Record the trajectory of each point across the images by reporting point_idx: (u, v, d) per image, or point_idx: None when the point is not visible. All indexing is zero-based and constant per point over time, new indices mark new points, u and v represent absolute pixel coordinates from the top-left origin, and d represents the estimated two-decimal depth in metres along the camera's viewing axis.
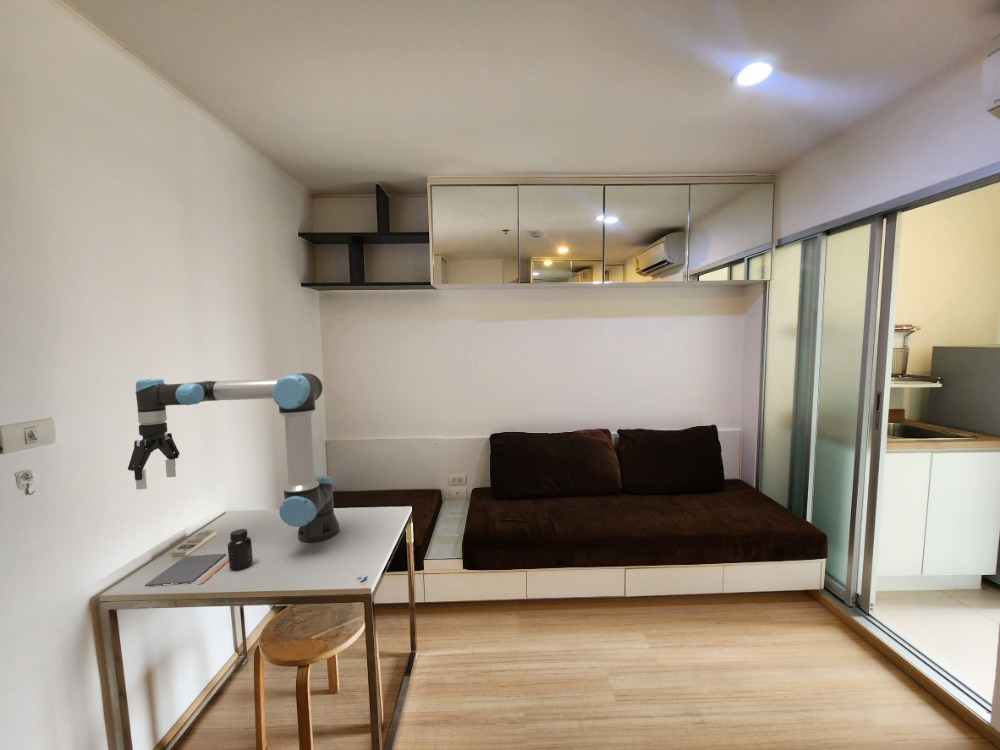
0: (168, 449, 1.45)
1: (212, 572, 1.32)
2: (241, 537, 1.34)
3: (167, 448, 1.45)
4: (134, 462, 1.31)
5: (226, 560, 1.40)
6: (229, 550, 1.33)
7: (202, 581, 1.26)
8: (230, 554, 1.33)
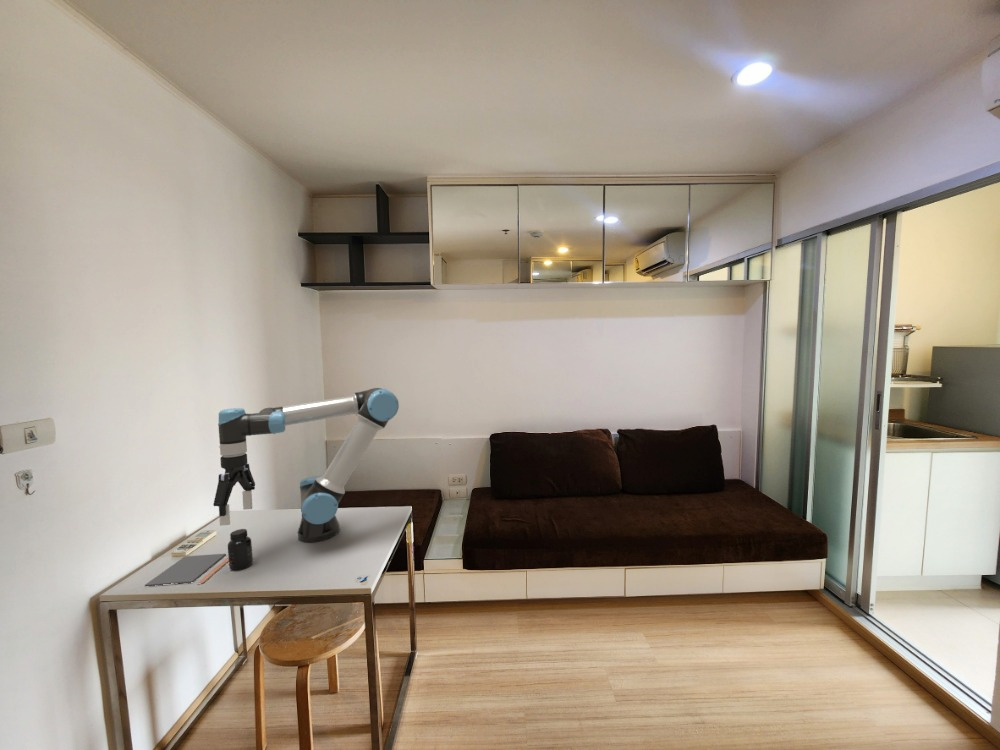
0: (246, 481, 1.40)
1: (212, 572, 1.32)
2: (241, 537, 1.34)
3: (245, 480, 1.39)
4: (219, 497, 1.26)
5: (226, 560, 1.40)
6: (229, 550, 1.33)
7: (202, 581, 1.26)
8: (230, 554, 1.33)
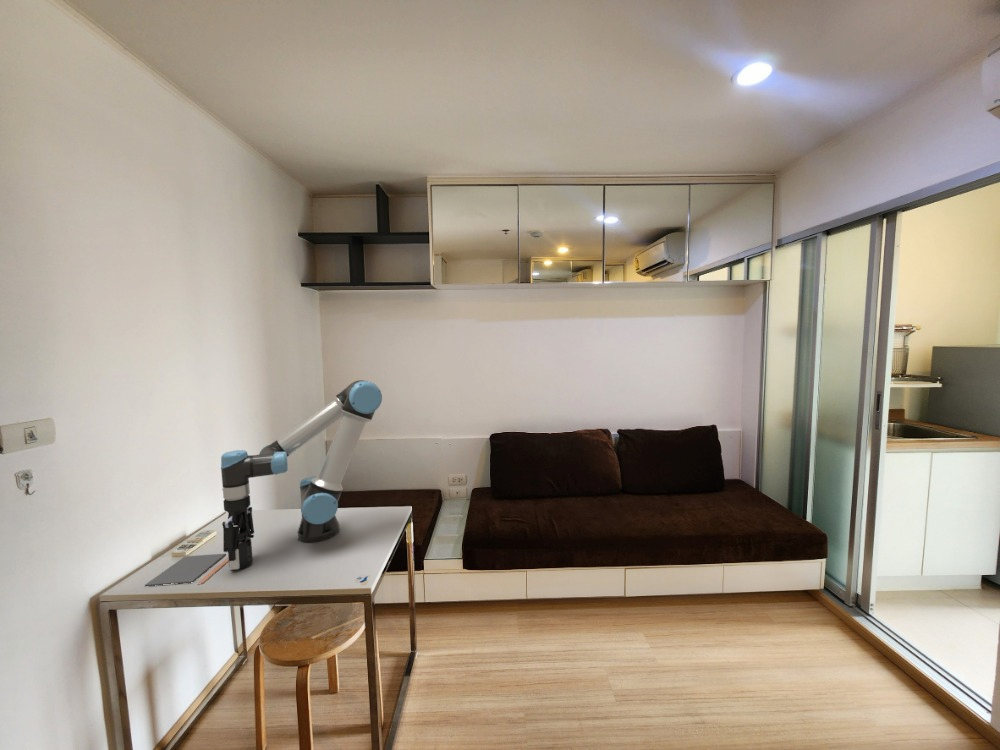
0: (247, 526, 1.39)
1: (212, 572, 1.32)
2: (241, 537, 1.34)
3: (246, 524, 1.38)
4: (228, 544, 1.29)
5: (226, 560, 1.40)
6: None
7: (202, 581, 1.26)
8: None
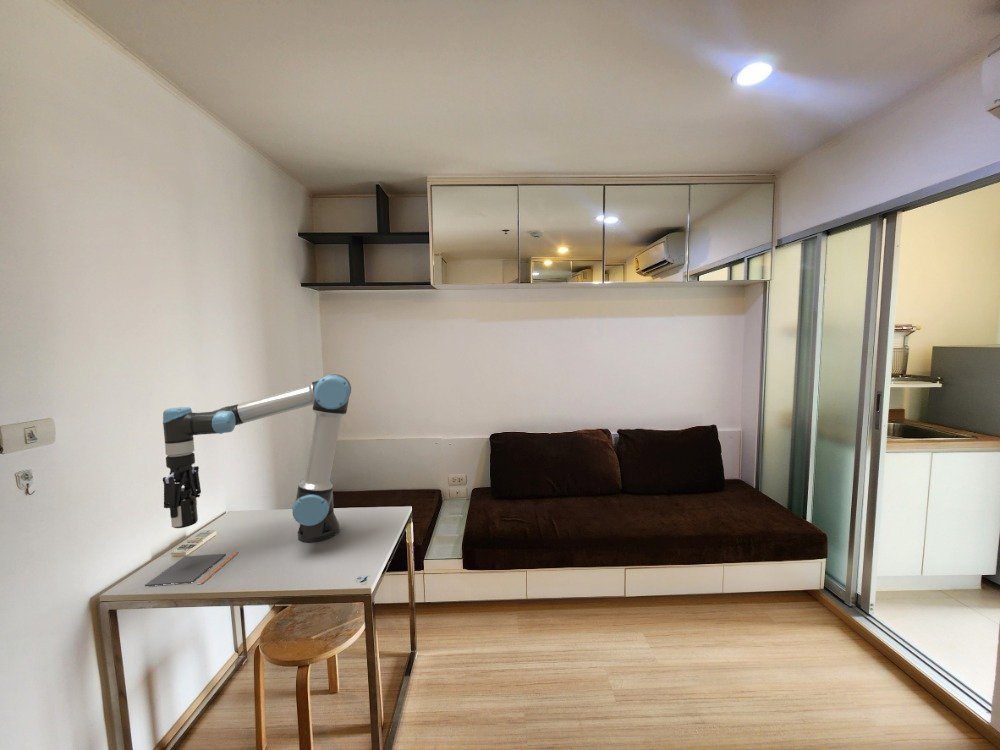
0: (192, 484, 1.37)
1: (212, 572, 1.32)
2: (184, 494, 1.32)
3: (191, 483, 1.36)
4: (168, 500, 1.27)
5: (226, 560, 1.40)
6: None
7: (202, 581, 1.26)
8: None
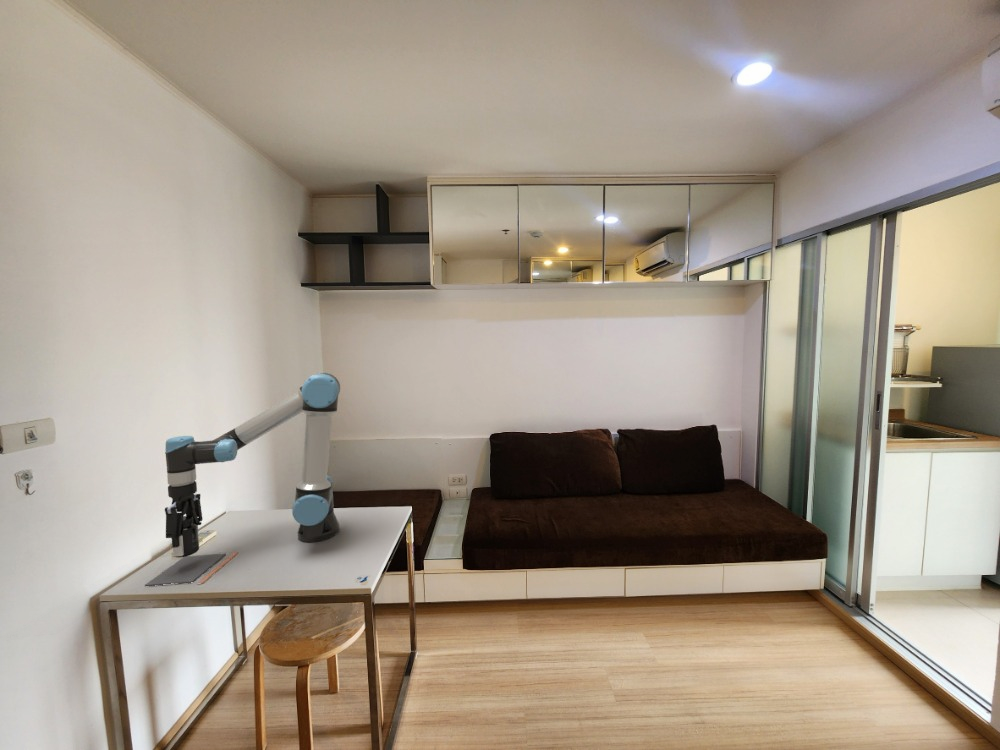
0: (194, 512, 1.37)
1: (212, 572, 1.32)
2: (186, 523, 1.32)
3: (193, 511, 1.37)
4: (170, 530, 1.27)
5: (226, 560, 1.40)
6: None
7: (202, 581, 1.26)
8: None
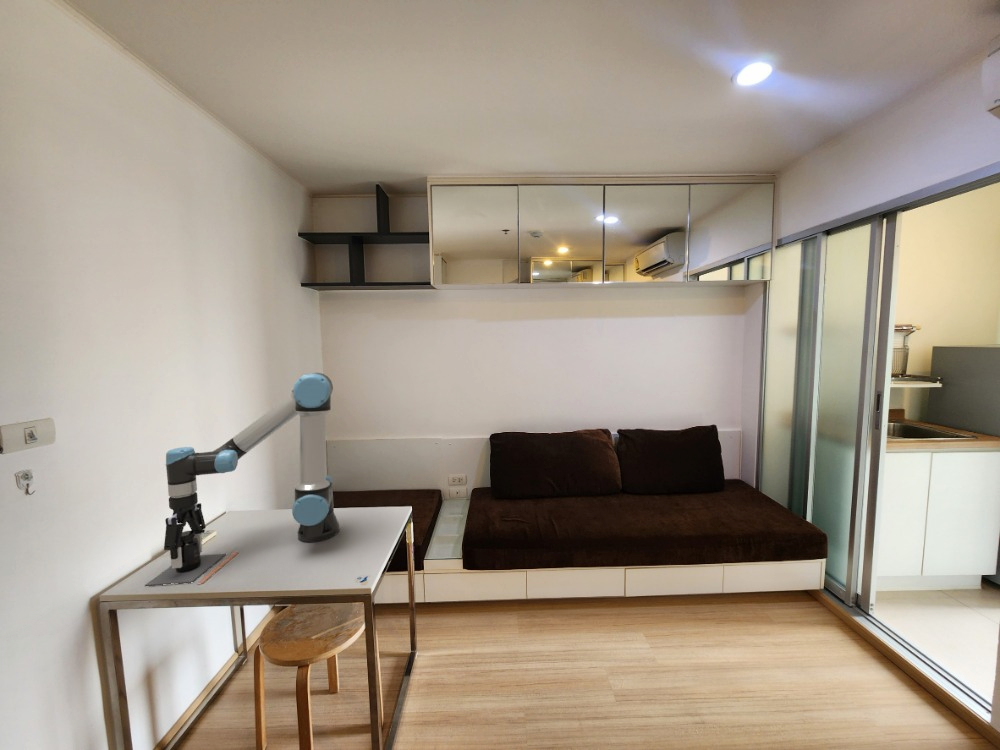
0: (196, 522, 1.38)
1: (212, 572, 1.32)
2: (187, 539, 1.33)
3: (195, 521, 1.37)
4: (169, 542, 1.26)
5: (226, 560, 1.40)
6: None
7: (202, 581, 1.26)
8: None
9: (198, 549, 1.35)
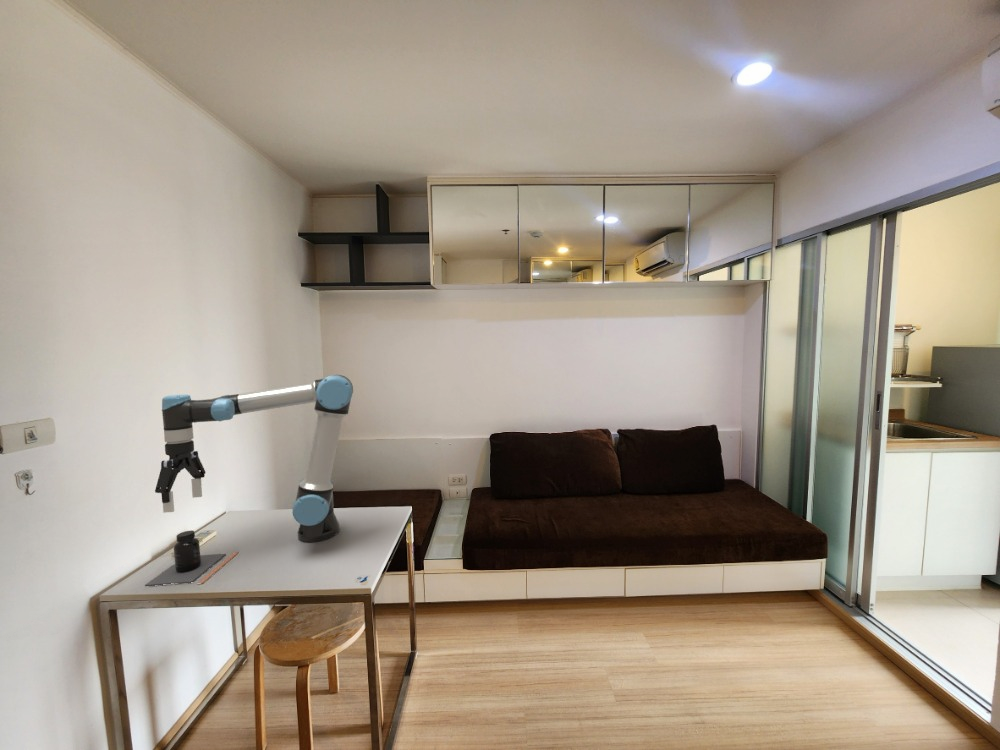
0: (194, 468, 1.38)
1: (212, 572, 1.32)
2: (187, 539, 1.33)
3: (193, 467, 1.37)
4: (161, 484, 1.24)
5: (226, 560, 1.40)
6: (175, 552, 1.31)
7: (202, 581, 1.26)
8: (176, 556, 1.31)
9: (198, 549, 1.35)
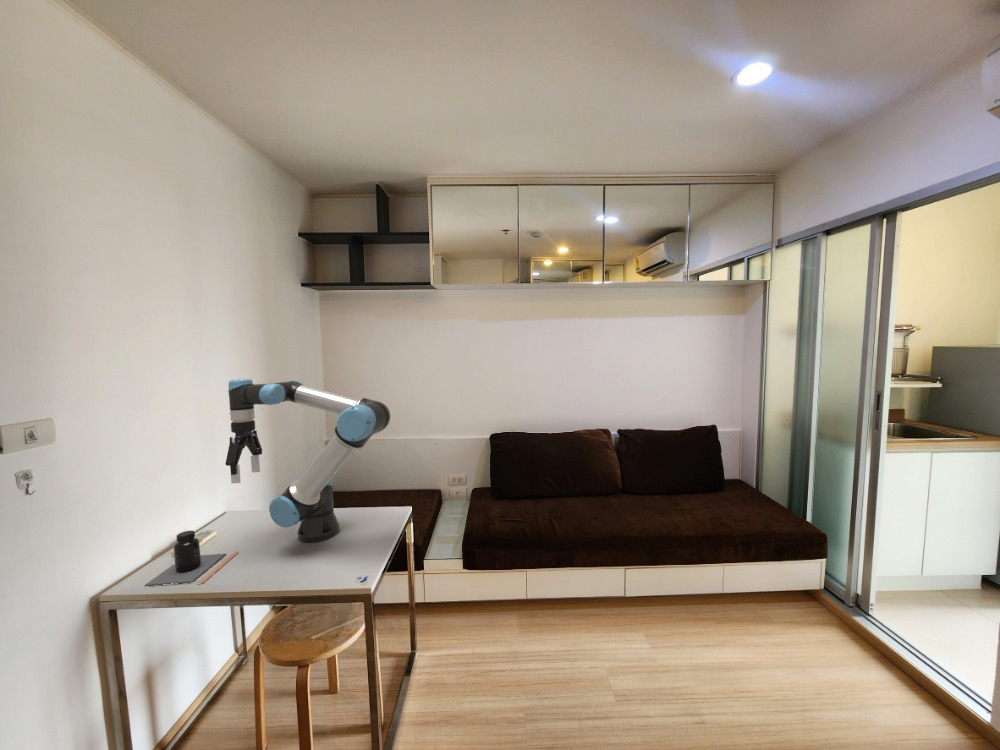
0: (254, 445, 1.53)
1: (212, 572, 1.32)
2: (187, 539, 1.33)
3: (253, 444, 1.52)
4: (231, 457, 1.39)
5: (226, 560, 1.40)
6: (175, 552, 1.31)
7: (202, 581, 1.26)
8: (176, 556, 1.31)
9: (198, 549, 1.35)
